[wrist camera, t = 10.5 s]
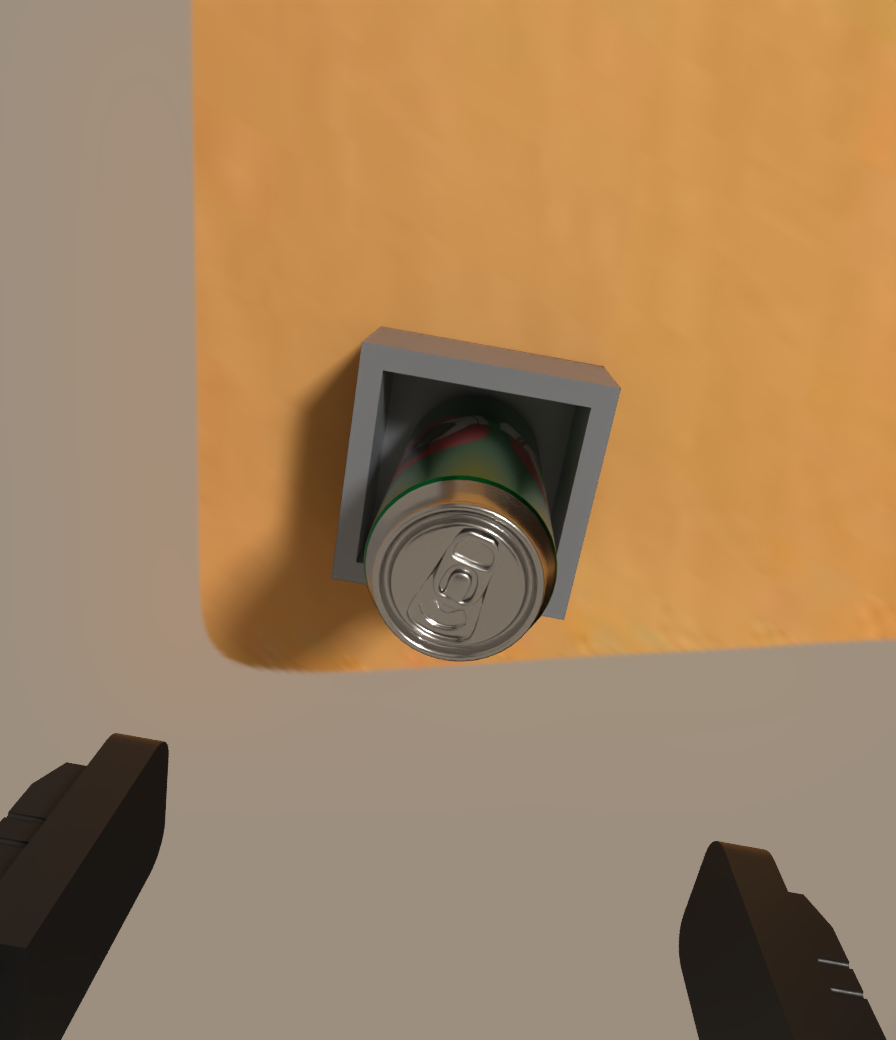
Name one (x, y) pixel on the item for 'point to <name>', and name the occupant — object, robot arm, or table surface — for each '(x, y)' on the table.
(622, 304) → the table surface
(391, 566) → the soda can
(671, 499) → the table surface
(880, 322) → the table surface
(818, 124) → the table surface
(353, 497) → the grey hollow square box
